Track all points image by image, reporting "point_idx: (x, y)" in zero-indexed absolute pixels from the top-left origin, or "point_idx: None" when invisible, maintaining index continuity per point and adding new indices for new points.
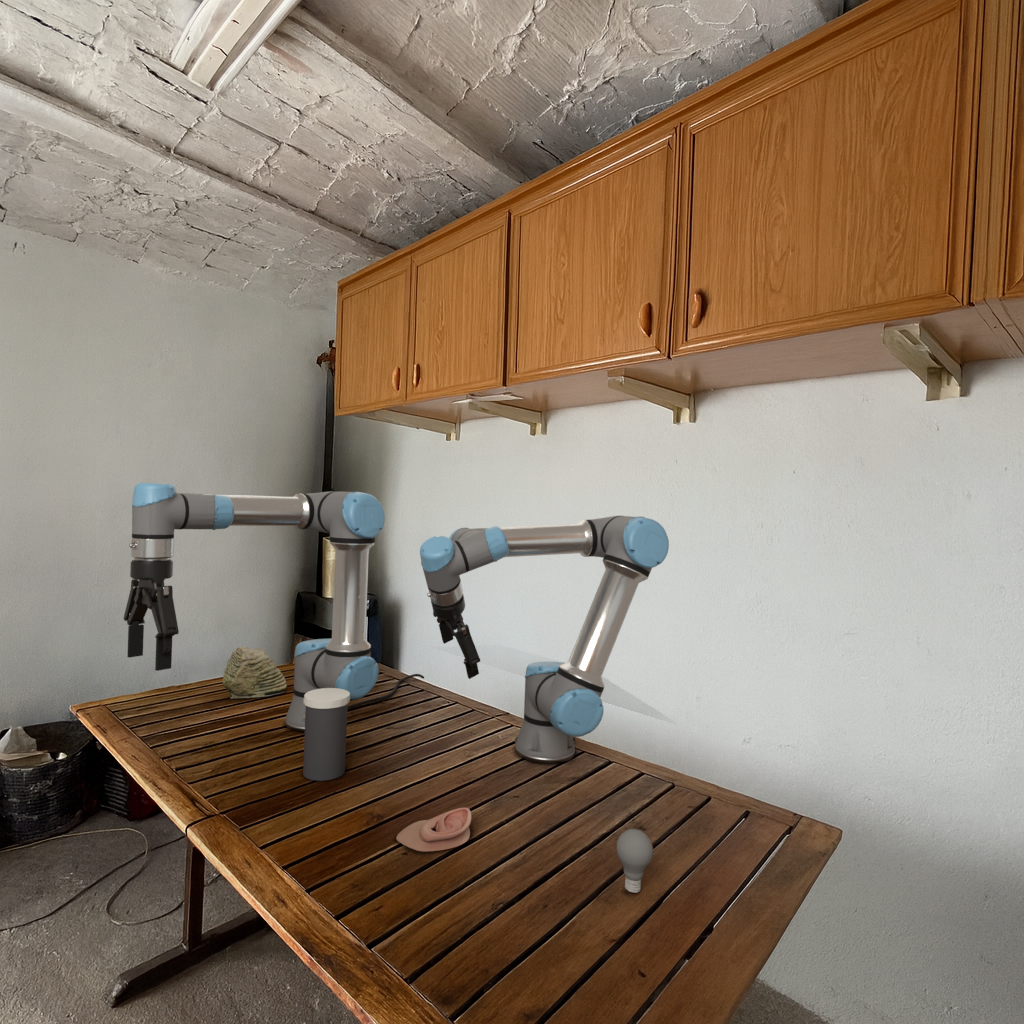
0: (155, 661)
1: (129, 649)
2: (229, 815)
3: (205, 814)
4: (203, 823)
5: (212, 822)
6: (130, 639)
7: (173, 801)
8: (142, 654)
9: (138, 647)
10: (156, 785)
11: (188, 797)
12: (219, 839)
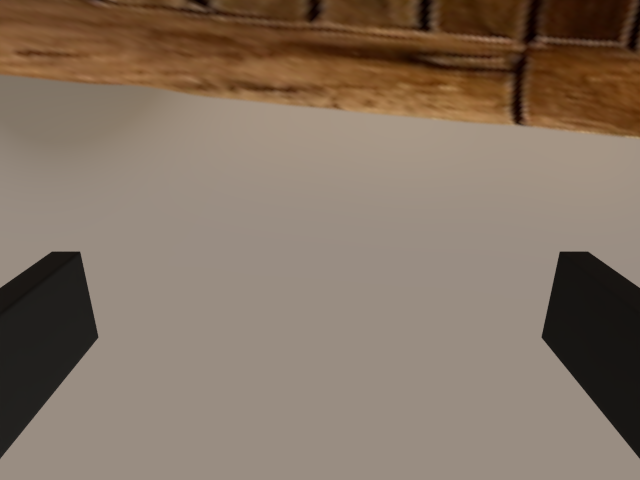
0: (574, 376)
1: (68, 373)
2: (555, 32)
3: (503, 72)
4: (536, 96)
5: (549, 79)
6: (12, 431)
7: (383, 96)
8: (74, 256)
9: (47, 316)
10: (267, 88)
11: (390, 60)
12: (625, 104)
